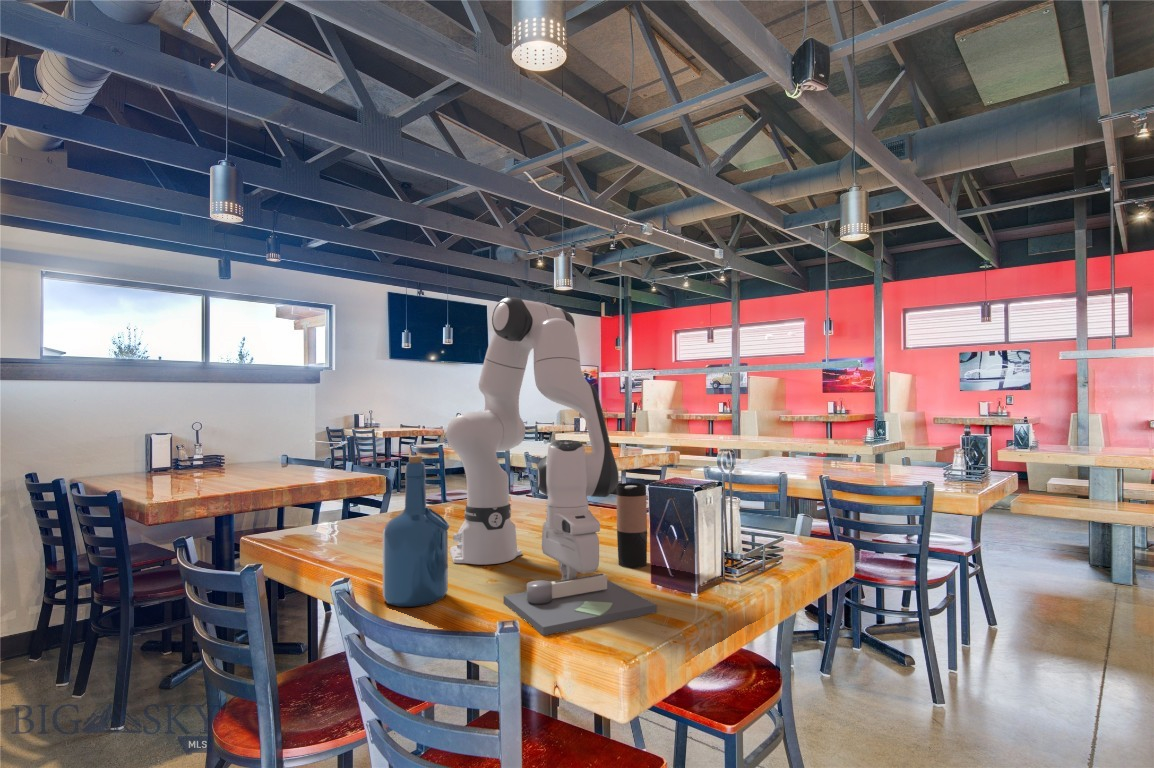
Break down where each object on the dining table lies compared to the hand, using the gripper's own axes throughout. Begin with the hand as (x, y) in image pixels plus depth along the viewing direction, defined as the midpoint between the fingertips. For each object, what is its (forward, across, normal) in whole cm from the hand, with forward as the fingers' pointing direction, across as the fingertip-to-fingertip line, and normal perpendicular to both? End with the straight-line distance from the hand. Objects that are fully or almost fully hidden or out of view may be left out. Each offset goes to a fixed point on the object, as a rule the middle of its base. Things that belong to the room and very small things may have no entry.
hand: (568, 584), depth 123 cm
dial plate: (+3, +6, -1) cm, 7 cm away
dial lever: (+1, +3, -2) cm, 4 cm away
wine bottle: (+3, -16, -28) cm, 32 cm away
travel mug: (+3, -16, +26) cm, 31 cm away
